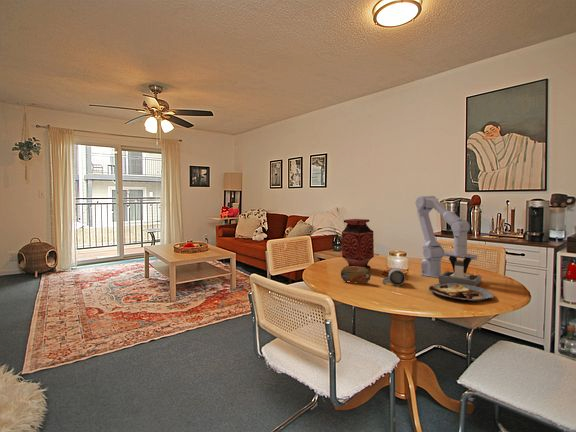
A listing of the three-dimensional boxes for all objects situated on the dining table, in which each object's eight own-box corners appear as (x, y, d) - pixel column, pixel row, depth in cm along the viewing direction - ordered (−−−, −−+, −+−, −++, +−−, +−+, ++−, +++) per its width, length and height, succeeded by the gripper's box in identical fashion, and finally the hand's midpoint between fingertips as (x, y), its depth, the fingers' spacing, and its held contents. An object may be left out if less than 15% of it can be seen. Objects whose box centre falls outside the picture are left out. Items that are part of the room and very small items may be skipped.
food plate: (457, 306, 126) (457, 297, 125) (417, 290, 148) (417, 282, 148) (505, 301, 133) (506, 292, 133) (460, 286, 155) (461, 279, 155)
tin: (340, 281, 165) (340, 265, 164) (342, 280, 167) (342, 264, 167) (370, 284, 158) (370, 268, 158) (371, 283, 161) (371, 266, 161)
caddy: (438, 282, 160) (438, 275, 159) (446, 277, 168) (446, 270, 168) (474, 288, 149) (474, 280, 149) (481, 283, 157) (481, 275, 157)
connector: (454, 279, 159) (454, 261, 158) (456, 277, 162) (457, 260, 161) (463, 280, 156) (463, 262, 155) (465, 278, 159) (465, 261, 158)
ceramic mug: (402, 281, 163) (402, 266, 162) (405, 286, 155) (405, 270, 154) (381, 281, 165) (381, 266, 164) (383, 285, 157) (382, 270, 156)
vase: (356, 265, 202) (355, 218, 201) (374, 269, 192) (374, 219, 190) (341, 268, 194) (341, 219, 192) (359, 272, 183) (359, 220, 181)
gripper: (479, 245, 155) (478, 272, 156) (447, 242, 165) (446, 268, 166) (475, 247, 150) (474, 275, 151) (442, 244, 160) (442, 271, 161)
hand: (459, 272), depth 158 cm, fingers closed on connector, 4 cm apart
